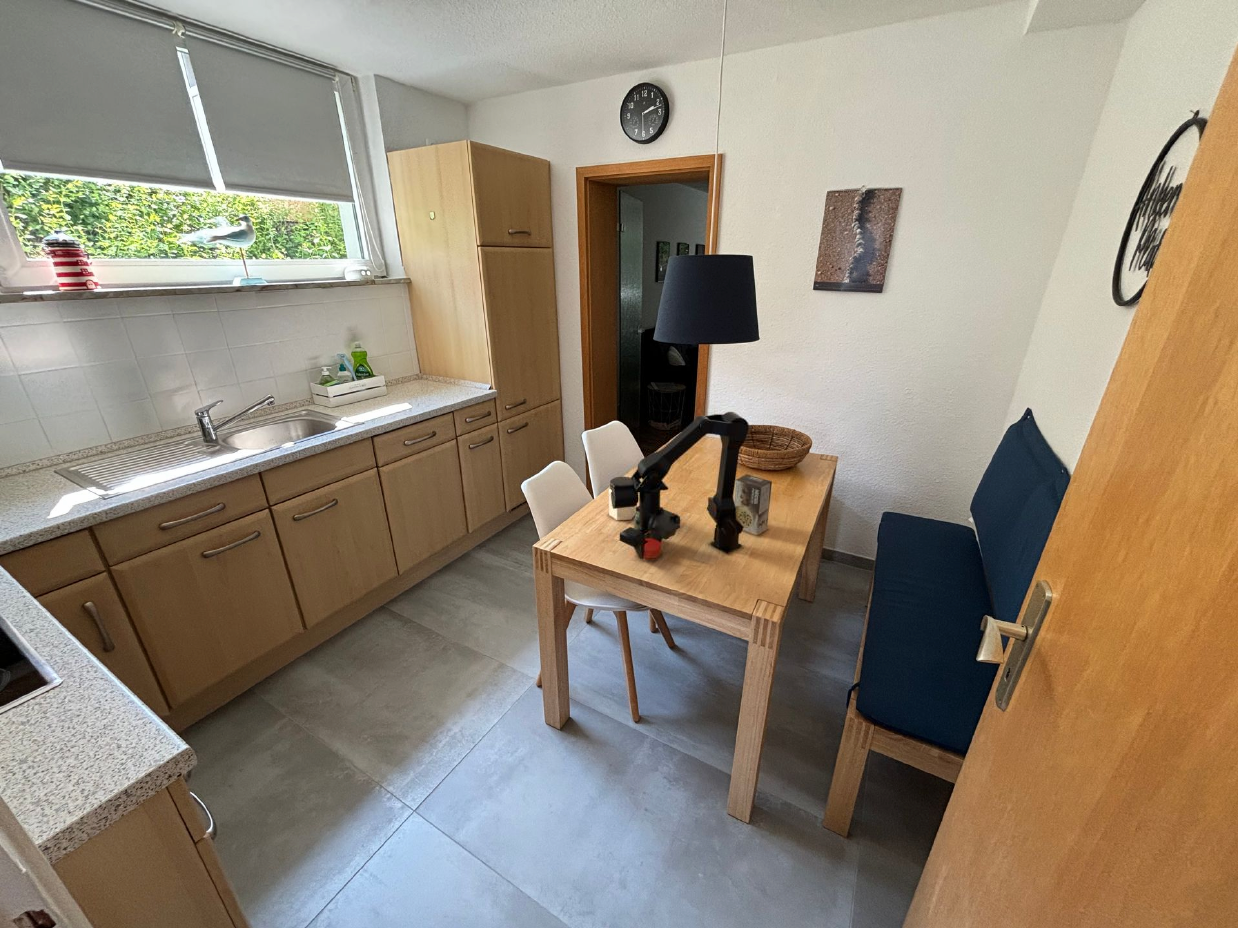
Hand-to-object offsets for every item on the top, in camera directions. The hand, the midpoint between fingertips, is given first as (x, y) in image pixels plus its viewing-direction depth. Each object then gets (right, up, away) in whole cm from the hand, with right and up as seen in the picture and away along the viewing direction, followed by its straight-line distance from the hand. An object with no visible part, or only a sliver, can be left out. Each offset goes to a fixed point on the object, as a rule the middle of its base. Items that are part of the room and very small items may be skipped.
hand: (648, 553), depth 141 cm
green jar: (-1, +3, +8) cm, 8 cm away
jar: (-7, +9, +23) cm, 26 cm away
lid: (0, +2, -1) cm, 3 cm away
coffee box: (+32, +5, +14) cm, 36 cm away
